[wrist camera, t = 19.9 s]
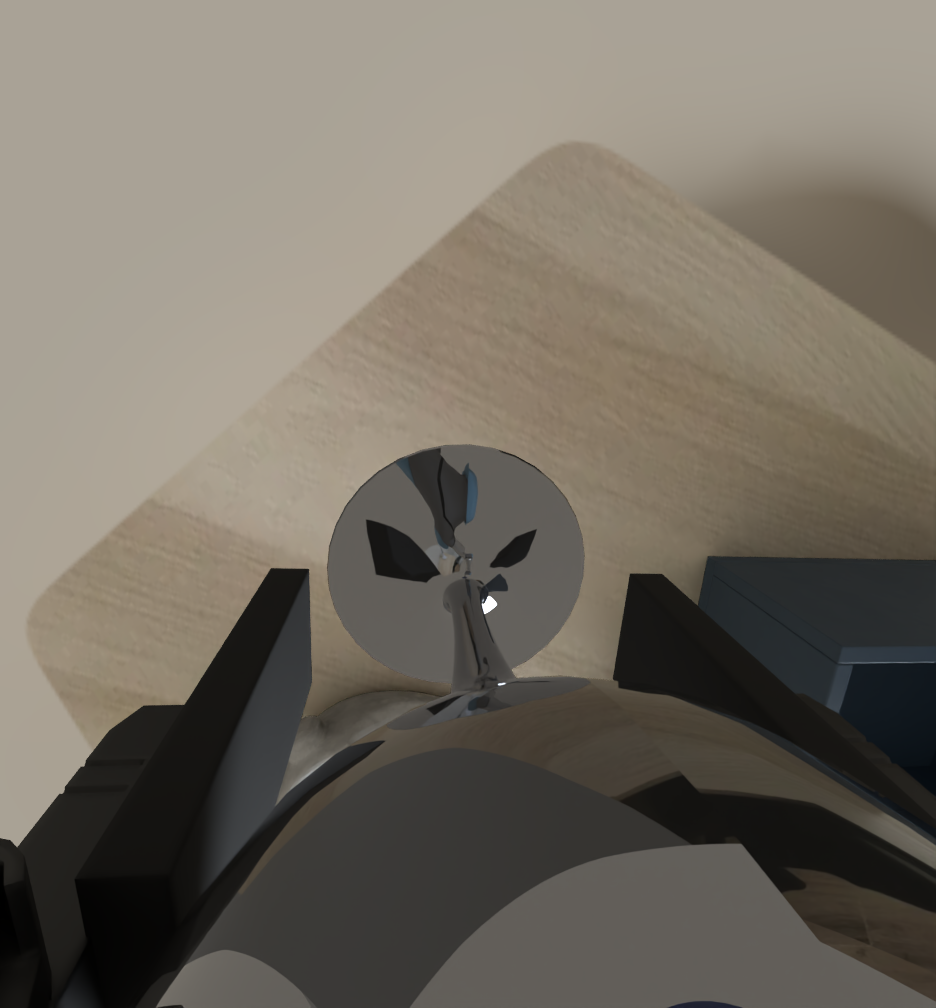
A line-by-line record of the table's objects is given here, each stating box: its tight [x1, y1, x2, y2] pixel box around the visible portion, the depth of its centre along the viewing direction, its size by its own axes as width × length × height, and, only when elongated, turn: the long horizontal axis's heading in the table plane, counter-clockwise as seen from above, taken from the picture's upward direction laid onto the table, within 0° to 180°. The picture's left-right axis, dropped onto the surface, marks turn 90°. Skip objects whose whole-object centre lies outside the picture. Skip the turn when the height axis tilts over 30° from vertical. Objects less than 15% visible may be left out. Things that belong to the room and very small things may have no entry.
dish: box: [275, 691, 441, 806], centre depth 30 cm, size 14×14×5 cm
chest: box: [698, 556, 936, 797], centre depth 29 cm, size 20×16×10 cm
